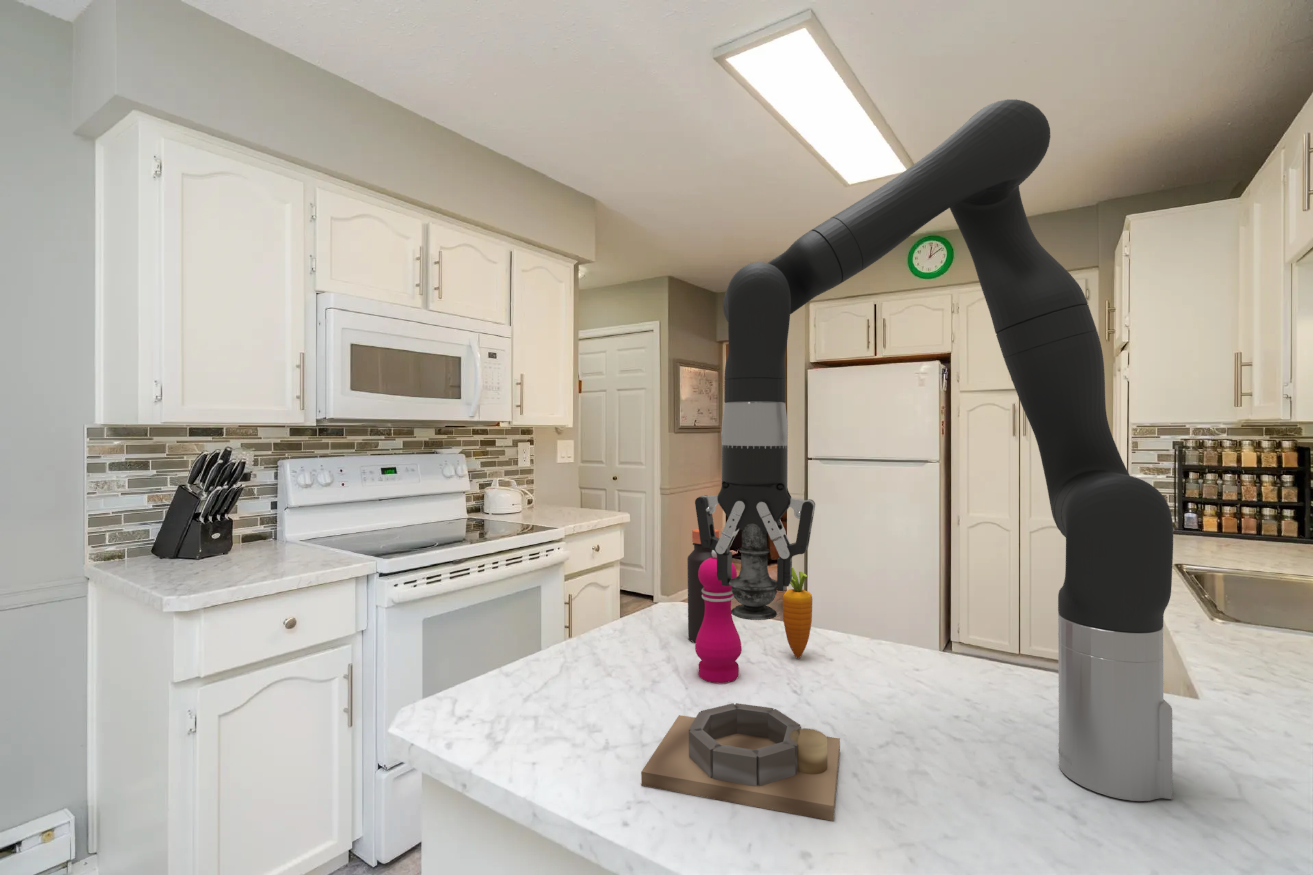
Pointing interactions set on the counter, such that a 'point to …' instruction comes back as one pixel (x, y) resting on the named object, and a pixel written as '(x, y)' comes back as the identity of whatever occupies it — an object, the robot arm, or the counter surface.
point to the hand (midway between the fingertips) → (753, 586)
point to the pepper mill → (717, 628)
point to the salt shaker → (754, 578)
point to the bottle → (696, 584)
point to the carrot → (797, 614)
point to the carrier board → (748, 761)
